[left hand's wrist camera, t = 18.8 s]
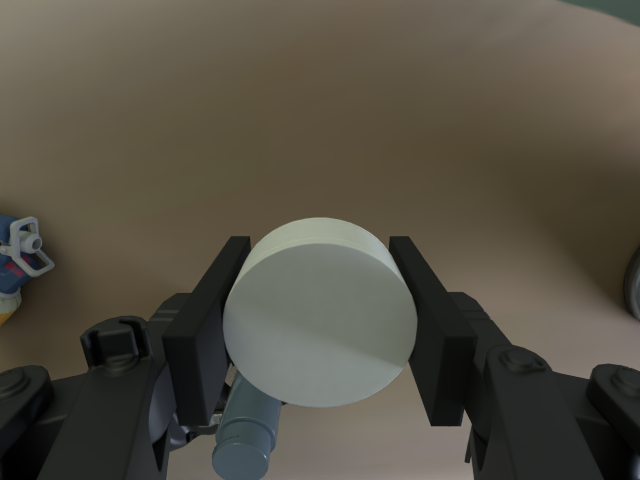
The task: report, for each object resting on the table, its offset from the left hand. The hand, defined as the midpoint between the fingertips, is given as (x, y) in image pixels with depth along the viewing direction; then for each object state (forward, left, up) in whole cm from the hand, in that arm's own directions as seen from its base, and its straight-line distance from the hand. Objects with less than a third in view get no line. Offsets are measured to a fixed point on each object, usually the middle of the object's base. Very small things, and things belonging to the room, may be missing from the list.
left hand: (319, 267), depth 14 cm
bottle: (-10, +17, -21) cm, 29 cm away
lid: (0, 0, +4) cm, 4 cm away
